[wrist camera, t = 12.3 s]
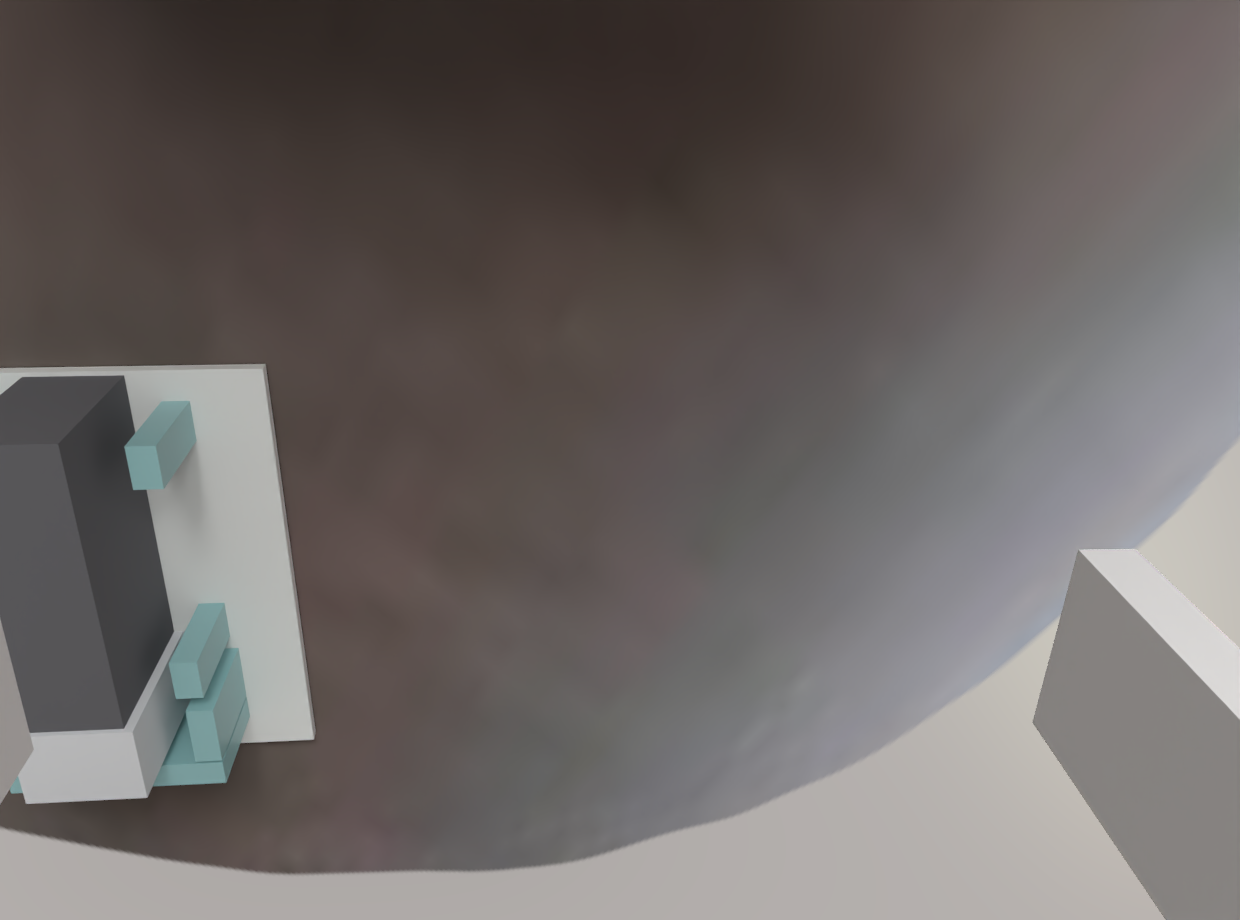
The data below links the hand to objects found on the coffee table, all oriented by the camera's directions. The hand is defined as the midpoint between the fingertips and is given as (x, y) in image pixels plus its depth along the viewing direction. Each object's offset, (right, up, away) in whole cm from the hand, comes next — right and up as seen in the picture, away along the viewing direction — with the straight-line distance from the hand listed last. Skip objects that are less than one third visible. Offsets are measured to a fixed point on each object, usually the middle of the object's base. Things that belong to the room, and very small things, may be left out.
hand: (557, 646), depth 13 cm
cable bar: (-19, -1, +27) cm, 33 cm away
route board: (-19, -2, +28) cm, 34 cm away
